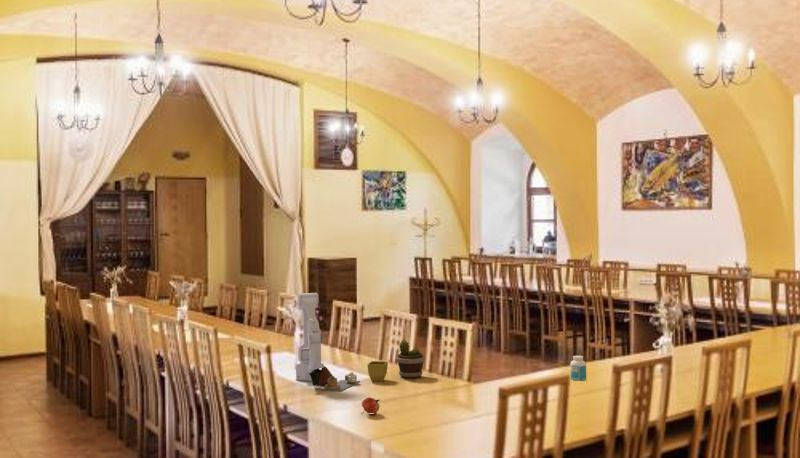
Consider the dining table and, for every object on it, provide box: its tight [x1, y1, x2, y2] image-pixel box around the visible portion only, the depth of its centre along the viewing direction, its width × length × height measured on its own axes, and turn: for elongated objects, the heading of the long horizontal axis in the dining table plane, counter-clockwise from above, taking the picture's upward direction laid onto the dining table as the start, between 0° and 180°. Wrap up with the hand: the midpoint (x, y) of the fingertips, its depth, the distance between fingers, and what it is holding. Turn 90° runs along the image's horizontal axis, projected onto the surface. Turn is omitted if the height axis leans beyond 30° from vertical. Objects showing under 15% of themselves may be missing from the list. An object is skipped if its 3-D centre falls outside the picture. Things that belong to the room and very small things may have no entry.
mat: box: [321, 379, 361, 393], centre depth 388 cm, size 10×24×1 cm, turn 161°
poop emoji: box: [317, 365, 334, 387], centre depth 393 cm, size 10×8×9 cm
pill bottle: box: [569, 355, 587, 381], centre depth 385 cm, size 8×7×14 cm
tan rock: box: [324, 375, 340, 389], centre depth 382 cm, size 7×7×6 cm
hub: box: [347, 371, 357, 384], centre depth 393 cm, size 5×5×5 cm
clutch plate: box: [344, 373, 358, 381], centre depth 393 cm, size 6×6×2 cm
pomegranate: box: [360, 397, 381, 416], centre depth 330 cm, size 7×7×10 cm
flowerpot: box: [395, 339, 426, 380], centre depth 407 cm, size 14×15×20 cm
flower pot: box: [366, 360, 389, 382], centre depth 400 cm, size 9×9×9 cm
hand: (315, 385), depth 385 cm, fingers closed
